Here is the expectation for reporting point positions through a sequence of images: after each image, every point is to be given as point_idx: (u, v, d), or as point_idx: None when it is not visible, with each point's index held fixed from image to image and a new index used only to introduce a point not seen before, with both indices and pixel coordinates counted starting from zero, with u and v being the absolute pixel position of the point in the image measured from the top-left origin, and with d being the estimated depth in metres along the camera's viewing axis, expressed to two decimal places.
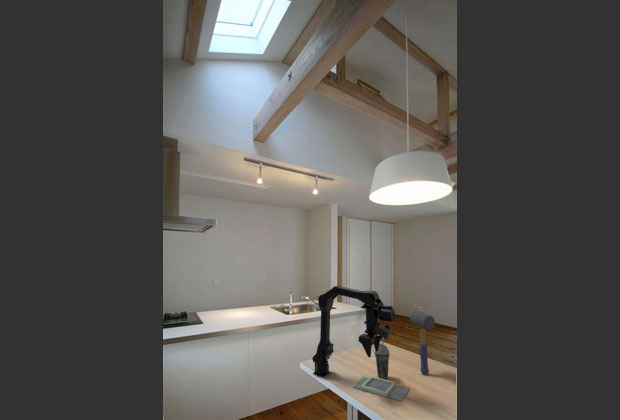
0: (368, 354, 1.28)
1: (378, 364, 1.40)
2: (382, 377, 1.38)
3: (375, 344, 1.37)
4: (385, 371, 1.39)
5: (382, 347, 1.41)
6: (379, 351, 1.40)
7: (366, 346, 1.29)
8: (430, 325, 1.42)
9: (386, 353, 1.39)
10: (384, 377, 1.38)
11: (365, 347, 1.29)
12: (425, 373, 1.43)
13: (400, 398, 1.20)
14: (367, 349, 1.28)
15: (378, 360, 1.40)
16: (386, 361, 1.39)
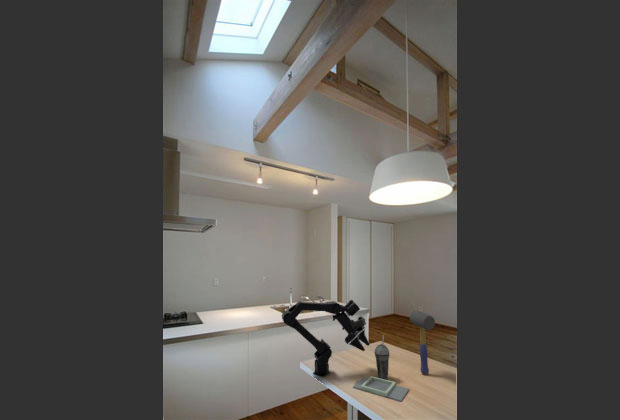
0: (362, 348, 1.41)
1: (378, 364, 1.40)
2: (382, 377, 1.38)
3: (364, 341, 1.50)
4: (385, 371, 1.39)
5: (382, 347, 1.41)
6: (379, 351, 1.40)
7: (355, 343, 1.42)
8: (430, 325, 1.42)
9: (386, 353, 1.39)
10: (384, 377, 1.38)
11: (355, 345, 1.41)
12: (425, 373, 1.43)
13: (400, 398, 1.20)
14: (358, 345, 1.41)
15: (378, 360, 1.40)
16: (386, 361, 1.39)
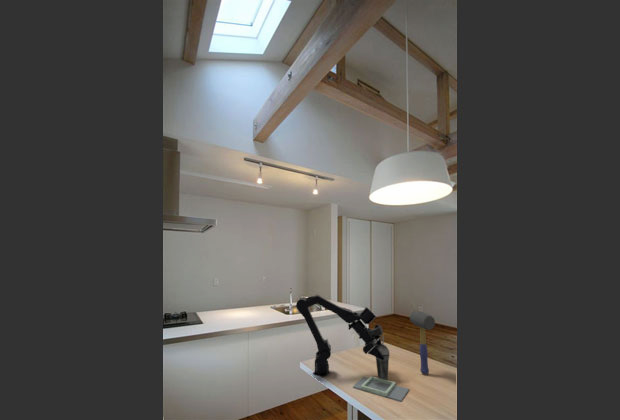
0: (381, 357, 1.38)
1: (378, 364, 1.40)
2: (382, 377, 1.38)
3: None
4: (385, 371, 1.39)
5: (382, 347, 1.41)
6: None
7: (374, 352, 1.39)
8: (430, 325, 1.42)
9: (386, 353, 1.39)
10: (384, 377, 1.38)
11: (374, 354, 1.39)
12: (425, 373, 1.43)
13: (400, 398, 1.20)
14: (377, 354, 1.38)
15: (378, 360, 1.40)
16: (386, 361, 1.39)
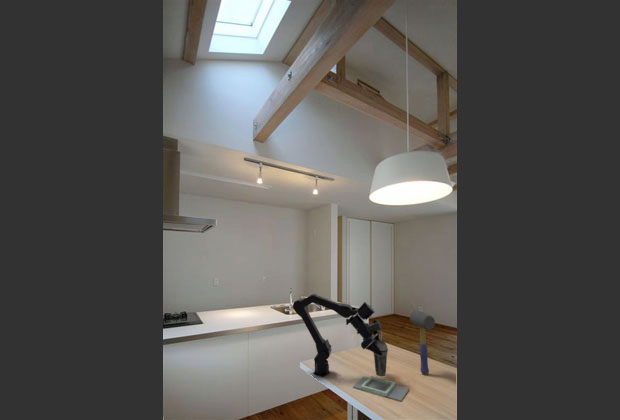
0: (379, 353, 1.35)
1: (376, 360, 1.37)
2: (380, 373, 1.36)
3: None
4: (383, 367, 1.36)
5: (380, 343, 1.38)
6: None
7: (372, 348, 1.36)
8: (430, 325, 1.42)
9: (384, 349, 1.36)
10: (382, 373, 1.36)
11: (372, 349, 1.36)
12: (425, 373, 1.43)
13: (400, 398, 1.20)
14: (375, 349, 1.36)
15: (376, 356, 1.37)
16: (384, 357, 1.36)
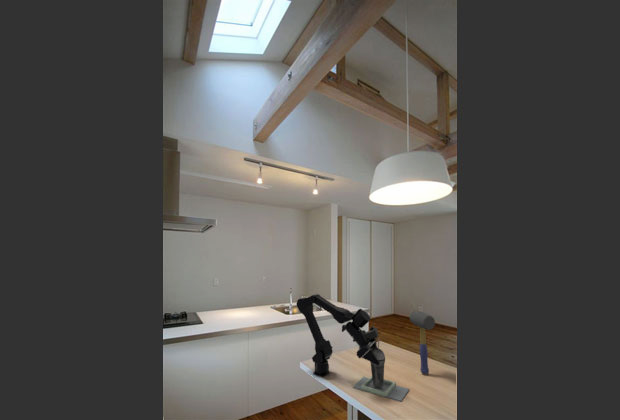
0: (376, 362, 1.28)
1: (373, 369, 1.30)
2: (377, 384, 1.29)
3: None
4: (380, 377, 1.29)
5: (377, 351, 1.31)
6: (374, 355, 1.30)
7: (369, 357, 1.29)
8: (430, 325, 1.42)
9: (382, 358, 1.29)
10: (379, 384, 1.28)
11: (369, 358, 1.29)
12: (425, 373, 1.43)
13: (400, 398, 1.20)
14: (372, 358, 1.28)
15: (373, 365, 1.30)
16: (381, 366, 1.29)
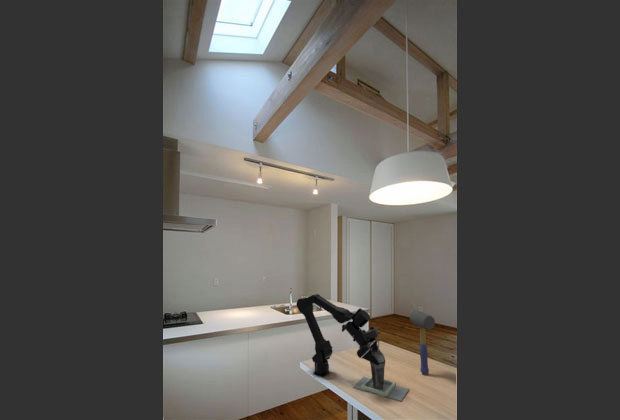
0: (376, 362, 1.27)
1: (373, 372, 1.29)
2: (377, 386, 1.28)
3: None
4: (381, 380, 1.28)
5: (377, 354, 1.30)
6: None
7: (369, 357, 1.28)
8: (430, 325, 1.42)
9: (382, 360, 1.29)
10: (379, 386, 1.28)
11: (369, 358, 1.28)
12: (425, 373, 1.43)
13: (400, 398, 1.20)
14: (371, 359, 1.28)
15: (373, 368, 1.29)
16: (382, 369, 1.29)
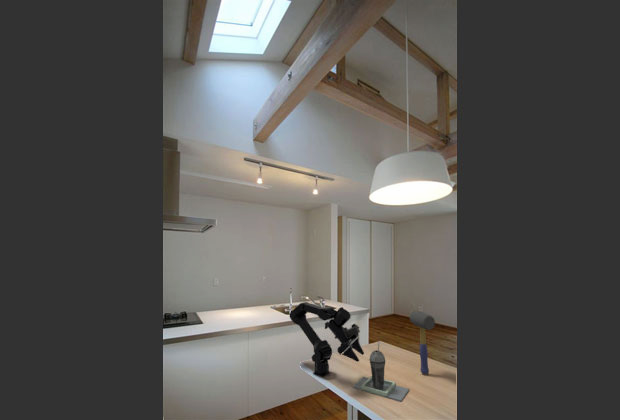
0: (356, 359, 1.31)
1: (373, 372, 1.30)
2: (377, 386, 1.28)
3: (358, 350, 1.41)
4: (381, 380, 1.28)
5: (377, 354, 1.30)
6: (374, 358, 1.29)
7: (349, 353, 1.32)
8: (430, 325, 1.42)
9: (382, 360, 1.29)
10: (379, 386, 1.28)
11: (349, 355, 1.32)
12: (425, 373, 1.43)
13: (400, 398, 1.20)
14: (351, 355, 1.32)
15: (373, 368, 1.30)
16: (382, 369, 1.29)
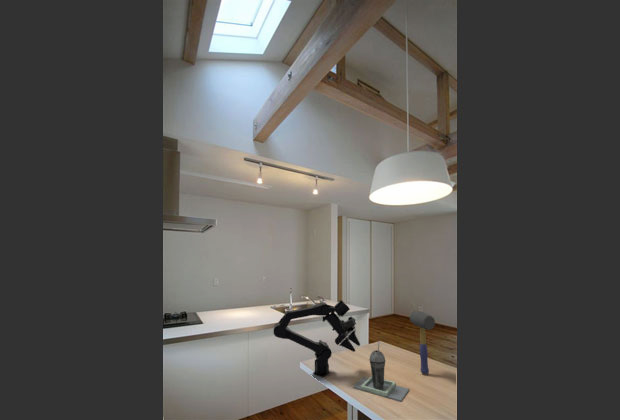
0: (352, 349, 1.39)
1: (373, 372, 1.30)
2: (377, 386, 1.28)
3: (354, 341, 1.49)
4: (381, 380, 1.28)
5: (377, 353, 1.30)
6: (374, 358, 1.29)
7: (346, 344, 1.40)
8: (430, 325, 1.42)
9: (382, 360, 1.29)
10: (379, 386, 1.28)
11: (346, 346, 1.40)
12: (425, 373, 1.43)
13: (400, 398, 1.20)
14: (348, 346, 1.40)
15: (373, 368, 1.30)
16: (382, 369, 1.29)
